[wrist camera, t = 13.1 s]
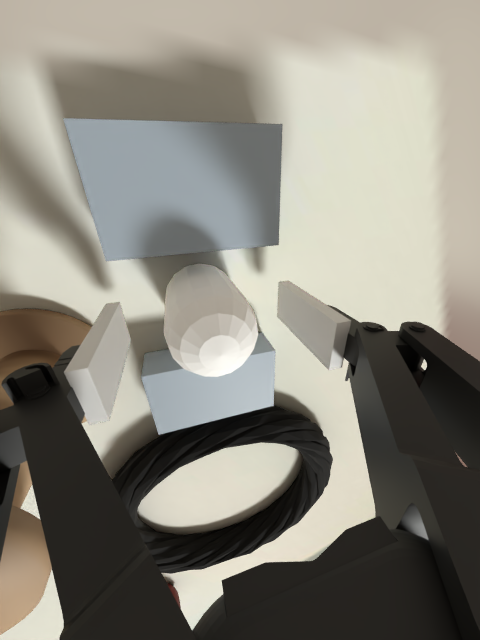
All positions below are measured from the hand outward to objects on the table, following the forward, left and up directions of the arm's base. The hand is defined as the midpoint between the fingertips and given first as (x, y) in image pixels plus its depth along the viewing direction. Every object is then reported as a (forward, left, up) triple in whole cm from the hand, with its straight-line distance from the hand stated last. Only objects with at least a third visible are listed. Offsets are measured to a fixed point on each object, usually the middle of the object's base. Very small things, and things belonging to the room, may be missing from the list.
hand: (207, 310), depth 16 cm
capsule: (0, 0, -3) cm, 3 cm away
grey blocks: (0, 0, -3) cm, 3 cm away
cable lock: (-1, -25, -3) cm, 25 cm away
